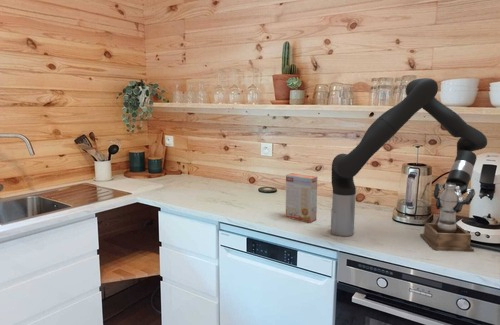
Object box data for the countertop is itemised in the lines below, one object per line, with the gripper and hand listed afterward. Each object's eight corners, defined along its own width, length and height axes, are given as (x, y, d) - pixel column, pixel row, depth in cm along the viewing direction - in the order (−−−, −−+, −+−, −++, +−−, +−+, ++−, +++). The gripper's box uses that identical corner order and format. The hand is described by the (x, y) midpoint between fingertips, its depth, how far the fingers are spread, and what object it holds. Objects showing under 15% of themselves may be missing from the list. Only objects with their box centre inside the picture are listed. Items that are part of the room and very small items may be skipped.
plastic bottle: (449, 230, 141) (453, 181, 138) (459, 237, 135) (464, 185, 131) (433, 231, 141) (437, 182, 138) (442, 237, 135) (447, 186, 131)
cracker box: (317, 220, 167) (318, 176, 163) (310, 223, 162) (311, 178, 159) (292, 214, 176) (292, 172, 172) (285, 217, 172) (285, 174, 168)
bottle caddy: (433, 250, 132) (434, 234, 131) (420, 236, 146) (421, 222, 145) (473, 251, 131) (475, 236, 130) (456, 237, 144) (457, 223, 143)
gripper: (438, 166, 144) (425, 200, 138) (479, 171, 134) (466, 208, 128) (442, 177, 148) (429, 211, 142) (482, 182, 138) (470, 219, 132)
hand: (447, 209), depth 135 cm, fingers closed on plastic bottle, 6 cm apart
